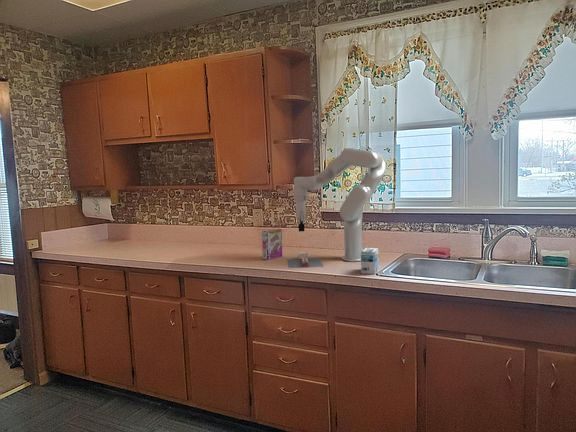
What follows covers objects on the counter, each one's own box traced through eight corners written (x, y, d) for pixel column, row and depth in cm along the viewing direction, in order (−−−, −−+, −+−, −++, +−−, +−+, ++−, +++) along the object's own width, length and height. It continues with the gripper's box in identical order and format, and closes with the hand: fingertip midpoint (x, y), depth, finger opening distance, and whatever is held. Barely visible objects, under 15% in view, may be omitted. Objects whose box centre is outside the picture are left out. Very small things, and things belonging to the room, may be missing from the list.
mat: (319, 258, 252) (319, 257, 252) (323, 267, 229) (323, 266, 229) (287, 259, 251) (287, 258, 251) (288, 269, 228) (288, 267, 228)
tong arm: (301, 260, 244) (301, 257, 244) (303, 260, 244) (303, 256, 244) (303, 267, 229) (302, 263, 228) (305, 267, 229) (305, 262, 228)
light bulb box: (375, 274, 211) (374, 251, 210) (360, 273, 214) (360, 251, 213) (379, 269, 221) (379, 247, 220) (365, 268, 224) (365, 247, 223)
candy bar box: (268, 260, 250) (266, 231, 249) (262, 259, 254) (261, 230, 252) (283, 257, 258) (282, 229, 256) (277, 256, 262) (276, 228, 260)
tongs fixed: (301, 259, 248) (301, 255, 247) (306, 259, 248) (306, 255, 248) (303, 267, 229) (303, 263, 228) (308, 267, 229) (308, 263, 228)
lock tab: (298, 257, 252) (298, 252, 252) (307, 257, 253) (307, 251, 252) (299, 259, 247) (299, 253, 247) (308, 259, 248) (307, 253, 247)
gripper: (293, 198, 261) (294, 229, 263) (294, 200, 246) (295, 233, 248) (306, 197, 261) (307, 229, 263) (308, 199, 247) (309, 232, 249)
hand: (301, 231), depth 256 cm, fingers closed
